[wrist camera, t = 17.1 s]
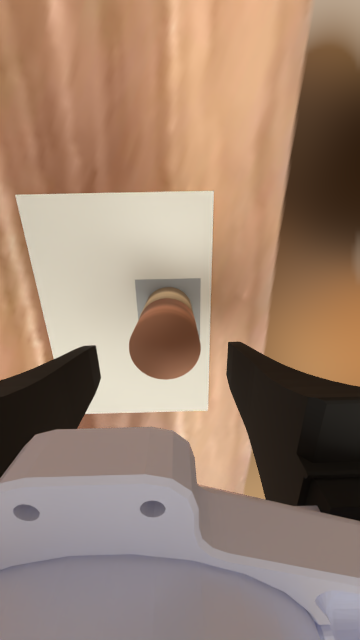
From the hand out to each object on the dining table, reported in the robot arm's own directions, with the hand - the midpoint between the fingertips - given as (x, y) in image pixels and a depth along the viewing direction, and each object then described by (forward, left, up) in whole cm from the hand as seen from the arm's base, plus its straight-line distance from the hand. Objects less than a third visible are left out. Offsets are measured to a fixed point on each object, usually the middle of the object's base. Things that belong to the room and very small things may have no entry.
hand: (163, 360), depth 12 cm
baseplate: (-1, -4, -10) cm, 11 cm away
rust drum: (0, 0, -6) cm, 6 cm away
